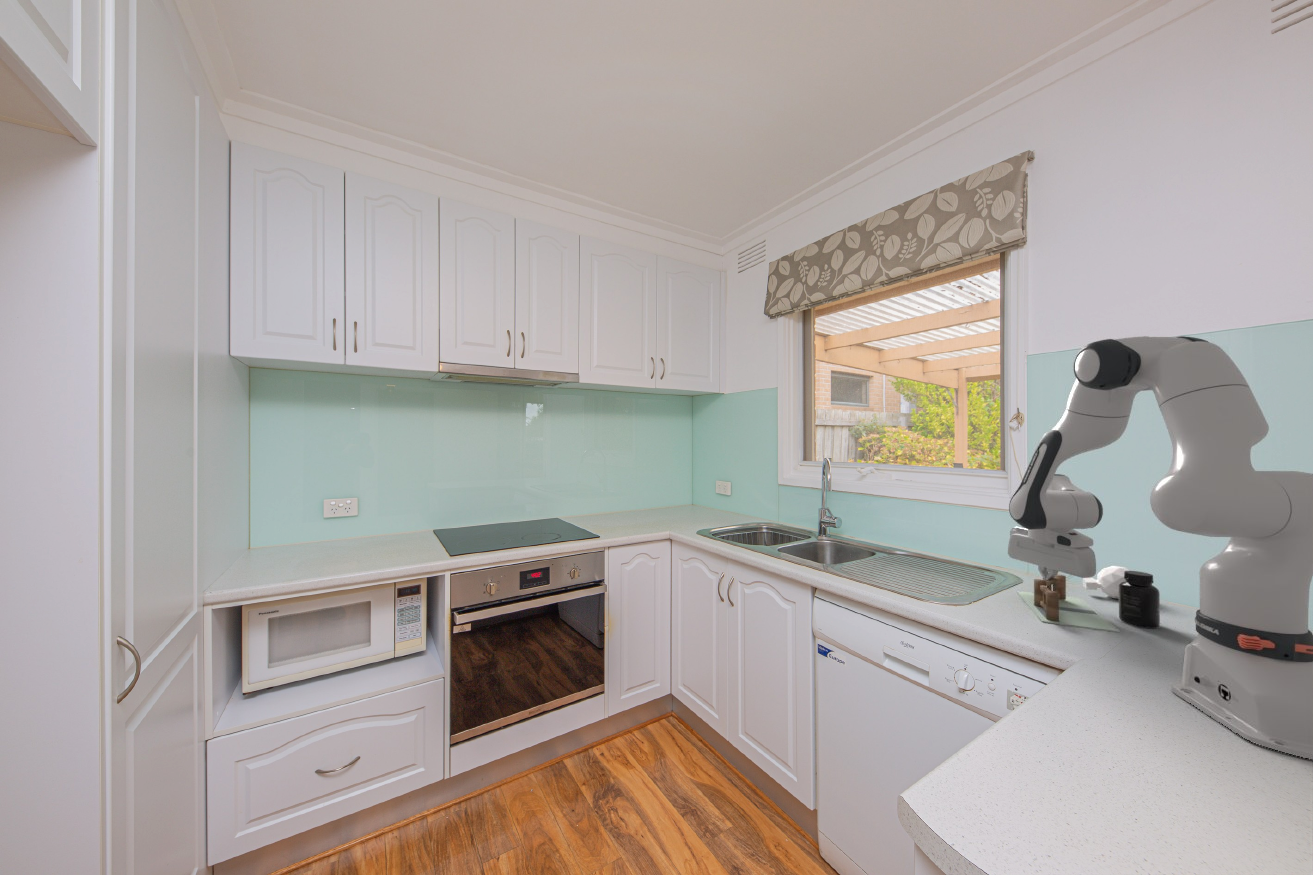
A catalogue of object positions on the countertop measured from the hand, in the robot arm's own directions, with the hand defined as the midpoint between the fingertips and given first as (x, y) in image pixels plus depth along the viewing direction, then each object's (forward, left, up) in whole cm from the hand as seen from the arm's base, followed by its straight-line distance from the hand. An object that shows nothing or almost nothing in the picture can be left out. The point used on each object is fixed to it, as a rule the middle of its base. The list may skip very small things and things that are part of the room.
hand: (1048, 583), depth 126 cm
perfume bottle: (+12, -17, -5) cm, 21 cm away
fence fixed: (-11, +3, -5) cm, 13 cm away
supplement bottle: (-9, -15, -5) cm, 18 cm away
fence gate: (-1, -1, -4) cm, 4 cm away
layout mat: (-6, -1, -5) cm, 8 cm away
